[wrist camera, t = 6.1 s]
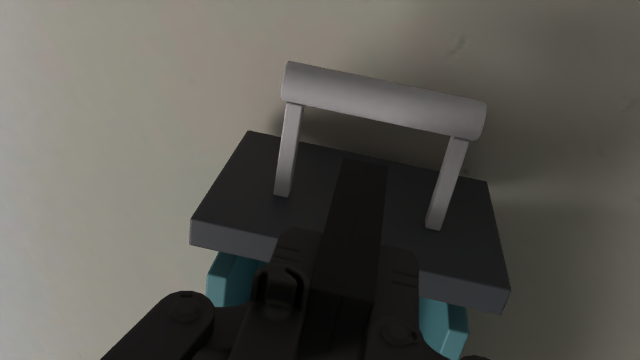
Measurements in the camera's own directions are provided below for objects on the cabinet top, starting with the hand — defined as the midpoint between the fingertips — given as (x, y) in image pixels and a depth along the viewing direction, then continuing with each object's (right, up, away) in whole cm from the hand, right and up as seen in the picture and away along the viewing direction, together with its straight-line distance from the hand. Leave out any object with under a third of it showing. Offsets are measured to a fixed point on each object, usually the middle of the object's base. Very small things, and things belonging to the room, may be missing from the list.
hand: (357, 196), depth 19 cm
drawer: (0, -2, +9) cm, 10 cm away
